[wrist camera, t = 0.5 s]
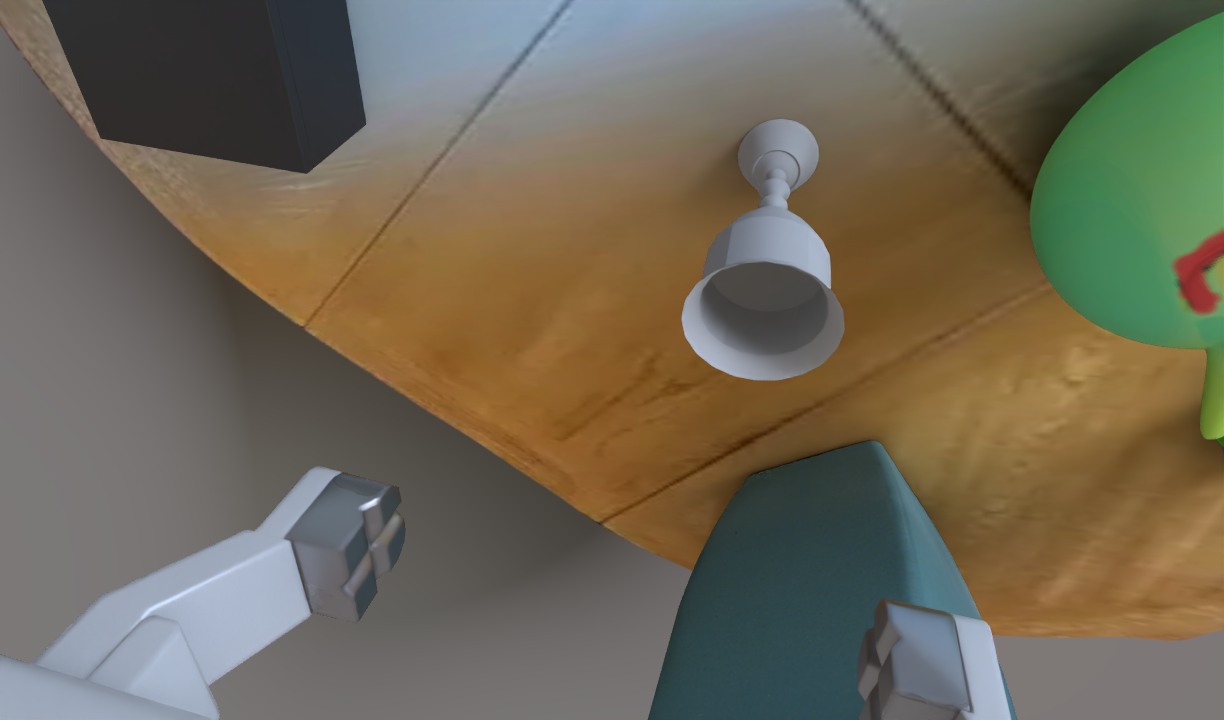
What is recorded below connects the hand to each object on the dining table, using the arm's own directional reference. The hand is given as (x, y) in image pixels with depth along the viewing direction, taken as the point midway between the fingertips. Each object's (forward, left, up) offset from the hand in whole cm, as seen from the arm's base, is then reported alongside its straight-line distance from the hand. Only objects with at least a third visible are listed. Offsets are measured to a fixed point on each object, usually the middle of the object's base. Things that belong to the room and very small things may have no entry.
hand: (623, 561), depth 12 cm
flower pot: (+40, +15, -38) cm, 58 cm away
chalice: (+9, +3, -38) cm, 39 cm away
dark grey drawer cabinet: (+3, -33, -38) cm, 50 cm away
